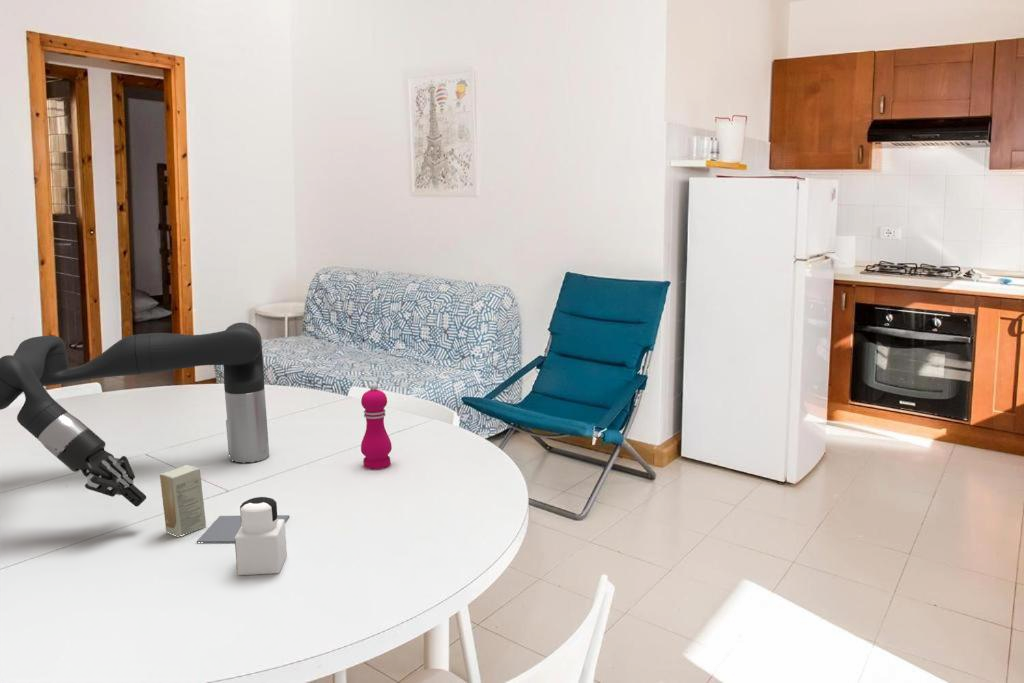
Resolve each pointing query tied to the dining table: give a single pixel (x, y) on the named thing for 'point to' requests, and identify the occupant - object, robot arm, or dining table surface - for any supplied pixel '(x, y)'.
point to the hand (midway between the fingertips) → (142, 502)
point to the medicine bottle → (260, 538)
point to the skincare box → (183, 500)
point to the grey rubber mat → (226, 529)
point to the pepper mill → (375, 430)
